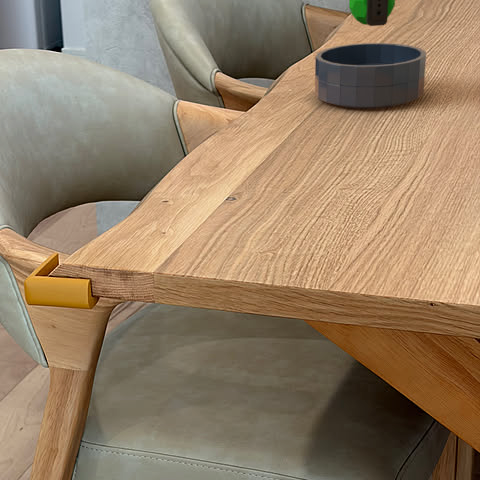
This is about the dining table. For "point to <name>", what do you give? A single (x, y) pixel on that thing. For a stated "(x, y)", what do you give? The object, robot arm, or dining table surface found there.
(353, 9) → the polyhedron
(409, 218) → the dining table surface
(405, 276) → the dining table surface
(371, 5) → the robot arm
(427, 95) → the dining table surface
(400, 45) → the bowl
